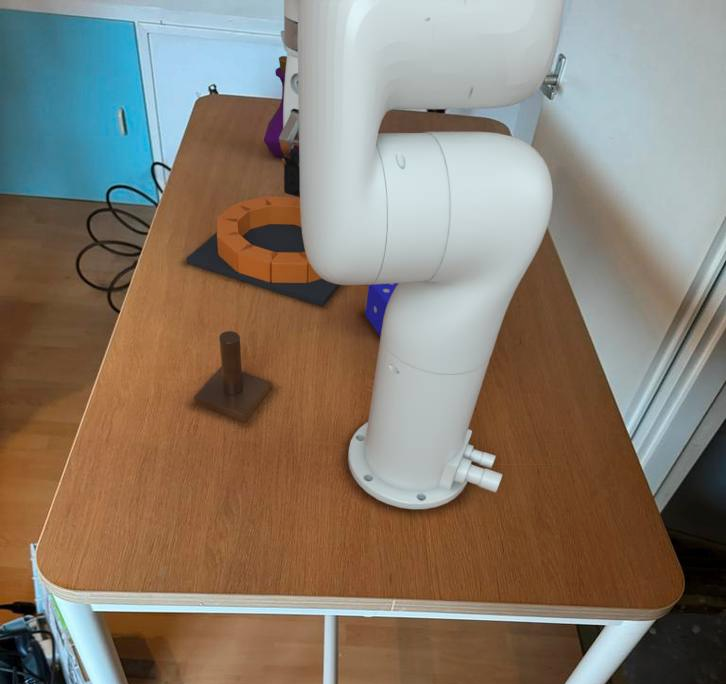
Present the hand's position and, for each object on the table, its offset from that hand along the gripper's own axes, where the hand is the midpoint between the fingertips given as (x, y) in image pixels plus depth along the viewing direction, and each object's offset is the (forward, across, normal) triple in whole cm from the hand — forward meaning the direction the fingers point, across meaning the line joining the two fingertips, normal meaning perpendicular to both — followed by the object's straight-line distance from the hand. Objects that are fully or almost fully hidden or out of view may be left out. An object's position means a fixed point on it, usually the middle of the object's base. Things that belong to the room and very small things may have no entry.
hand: (310, 182), depth 89 cm
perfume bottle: (+7, +22, +14) cm, 28 cm away
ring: (+7, -7, 0) cm, 10 cm away
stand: (+8, -37, -8) cm, 39 cm away
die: (+8, -16, -18) cm, 25 cm away
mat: (+7, -8, 0) cm, 11 cm away
